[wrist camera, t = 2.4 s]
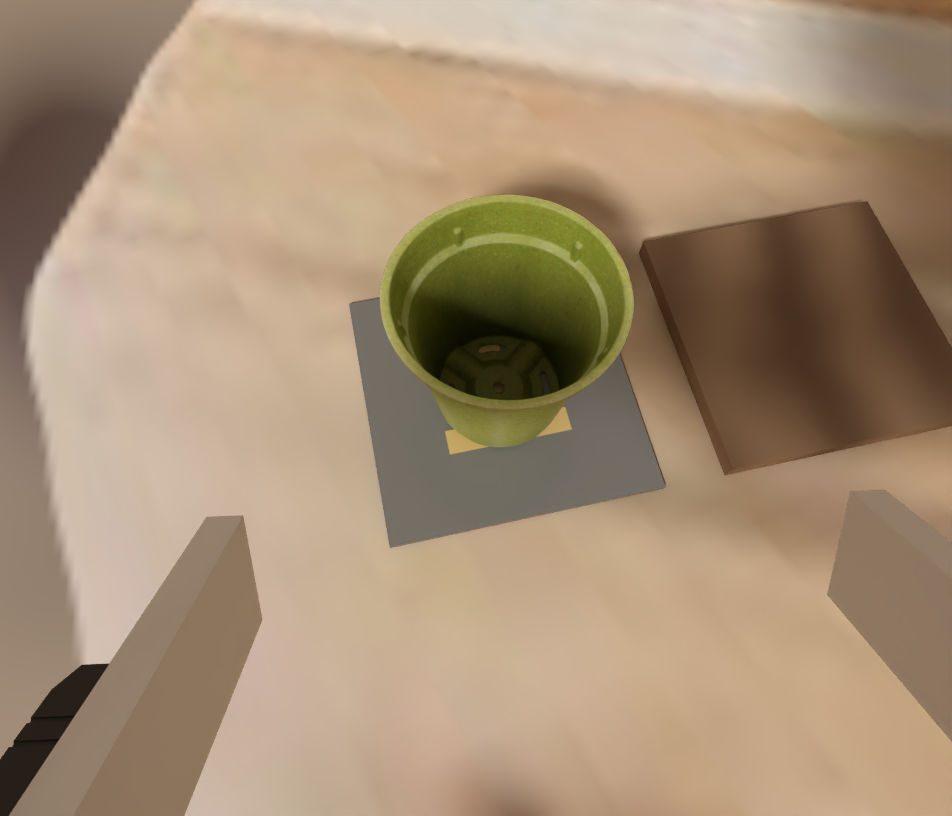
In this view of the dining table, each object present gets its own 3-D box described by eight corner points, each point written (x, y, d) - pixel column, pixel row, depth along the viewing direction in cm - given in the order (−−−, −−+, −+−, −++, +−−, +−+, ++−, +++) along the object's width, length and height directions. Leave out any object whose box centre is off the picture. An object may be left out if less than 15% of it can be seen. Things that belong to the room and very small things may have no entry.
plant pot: (391, 322, 33) (366, 209, 25) (569, 296, 34) (599, 178, 26) (416, 496, 30) (396, 428, 22) (614, 463, 30) (666, 385, 22)
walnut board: (857, 213, 36) (867, 201, 36) (973, 420, 32) (989, 413, 31) (639, 253, 35) (643, 241, 34) (724, 475, 30) (732, 468, 29)
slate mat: (586, 262, 35) (587, 259, 35) (664, 488, 30) (666, 486, 30) (349, 305, 34) (349, 303, 34) (390, 548, 29) (389, 546, 29)
